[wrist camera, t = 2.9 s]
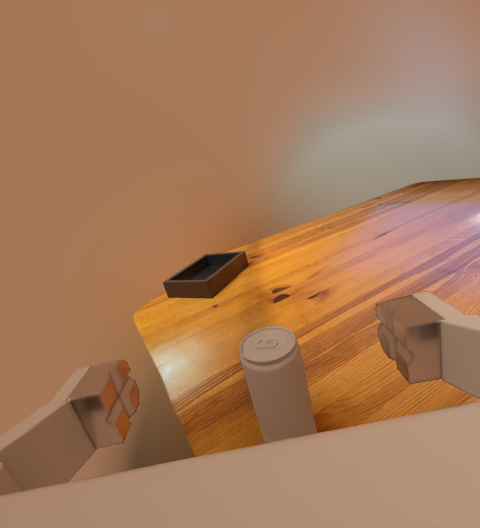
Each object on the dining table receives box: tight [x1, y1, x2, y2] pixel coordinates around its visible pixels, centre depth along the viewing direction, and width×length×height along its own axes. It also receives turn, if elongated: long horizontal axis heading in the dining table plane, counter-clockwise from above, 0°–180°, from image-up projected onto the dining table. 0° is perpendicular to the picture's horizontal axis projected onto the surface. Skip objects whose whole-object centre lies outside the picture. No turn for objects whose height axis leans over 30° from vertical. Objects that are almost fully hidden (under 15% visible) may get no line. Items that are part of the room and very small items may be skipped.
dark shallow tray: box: [163, 251, 248, 298], centre depth 74 cm, size 18×13×4 cm
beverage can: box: [239, 326, 317, 443], centre depth 25 cm, size 5×5×12 cm
